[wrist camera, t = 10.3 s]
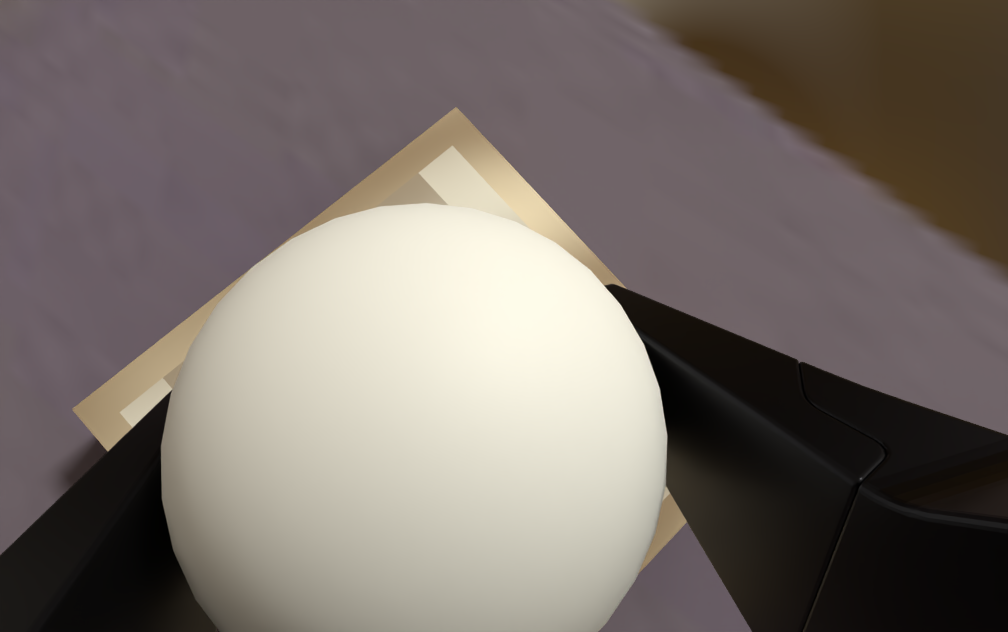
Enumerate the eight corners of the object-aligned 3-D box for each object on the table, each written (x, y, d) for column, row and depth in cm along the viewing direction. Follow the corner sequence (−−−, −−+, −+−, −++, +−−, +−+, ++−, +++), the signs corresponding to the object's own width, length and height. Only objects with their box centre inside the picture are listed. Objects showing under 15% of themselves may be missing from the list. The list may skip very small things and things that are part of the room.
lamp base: (726, 434, 20) (817, 440, 15) (418, 758, 17) (407, 893, 12) (455, 143, 21) (457, 58, 16) (122, 410, 18) (2, 407, 13)
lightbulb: (595, 458, 16) (917, 537, 5) (404, 601, 15) (280, 1106, 4) (468, 276, 16) (510, -9, 6) (276, 400, 15) (-142, 346, 4)
